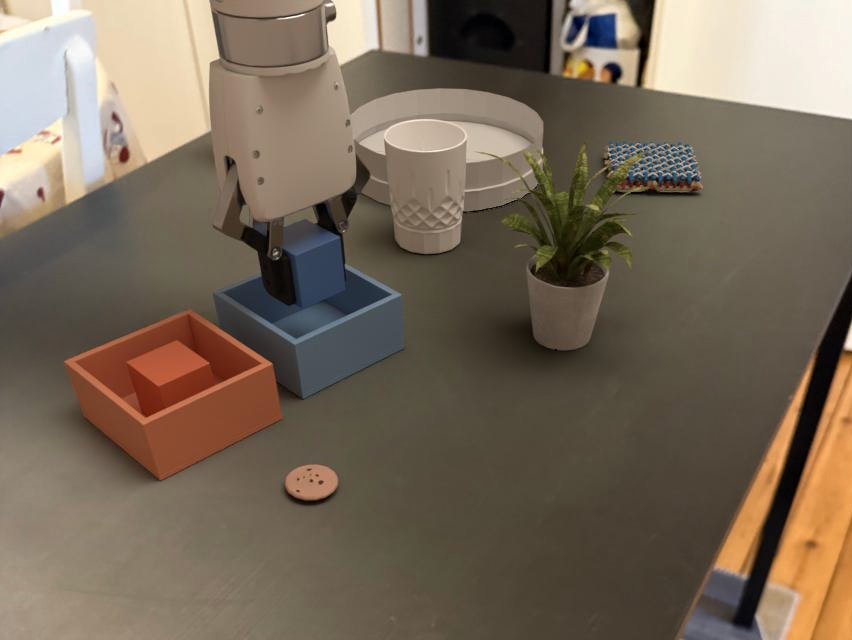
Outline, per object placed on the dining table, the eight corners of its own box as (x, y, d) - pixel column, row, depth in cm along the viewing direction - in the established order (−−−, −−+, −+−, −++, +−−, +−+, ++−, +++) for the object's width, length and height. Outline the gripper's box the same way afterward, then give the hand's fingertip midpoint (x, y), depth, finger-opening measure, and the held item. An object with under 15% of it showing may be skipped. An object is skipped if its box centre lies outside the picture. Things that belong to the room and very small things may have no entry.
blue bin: (223, 346, 80) (212, 292, 76) (324, 301, 86) (318, 248, 82) (303, 399, 75) (294, 344, 71) (405, 348, 80) (402, 294, 77)
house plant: (456, 372, 78) (454, 172, 66) (479, 291, 87) (481, 102, 75) (624, 388, 77) (655, 187, 64) (630, 304, 86) (658, 114, 74)
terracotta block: (141, 412, 73) (125, 361, 69) (189, 389, 75) (176, 339, 72) (172, 436, 71) (158, 386, 67) (221, 412, 73) (209, 362, 69)
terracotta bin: (83, 416, 73) (63, 360, 69) (203, 362, 78) (190, 308, 75) (160, 481, 68) (142, 424, 64) (282, 418, 73) (273, 363, 70)
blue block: (269, 289, 76) (260, 235, 73) (312, 271, 78) (305, 218, 75) (302, 309, 74) (294, 255, 71) (345, 290, 76) (340, 236, 73)
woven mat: (690, 158, 108) (693, 139, 107) (702, 197, 101) (706, 178, 100) (601, 156, 108) (603, 137, 107) (608, 195, 101) (610, 176, 100)
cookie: (302, 511, 66) (300, 500, 65) (275, 481, 68) (273, 470, 67) (349, 490, 67) (347, 480, 67) (321, 462, 69) (320, 451, 69)
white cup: (378, 250, 92) (370, 144, 85) (405, 217, 97) (400, 114, 90) (452, 263, 91) (451, 156, 83) (476, 228, 96) (477, 124, 88)
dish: (527, 222, 97) (530, 173, 93) (325, 203, 99) (319, 154, 95) (554, 141, 111) (557, 95, 107) (376, 126, 113) (373, 81, 110)
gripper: (334, -3, 68) (356, 240, 82) (132, 48, 60) (194, 307, 74) (401, 20, 65) (413, 269, 78) (197, 77, 57) (249, 343, 70)
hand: (306, 285), depth 76 cm, fingers closed on blue block, 4 cm apart
